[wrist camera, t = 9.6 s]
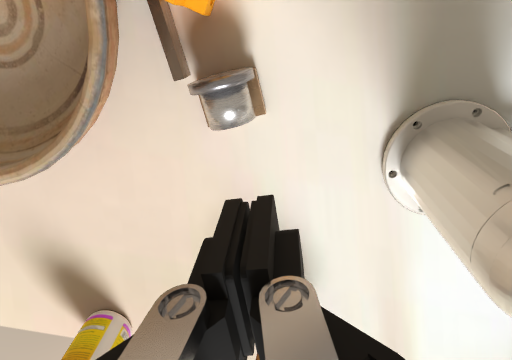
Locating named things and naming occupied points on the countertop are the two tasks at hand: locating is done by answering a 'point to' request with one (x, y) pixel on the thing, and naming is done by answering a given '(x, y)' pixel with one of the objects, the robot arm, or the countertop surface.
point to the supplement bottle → (98, 336)
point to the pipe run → (211, 79)
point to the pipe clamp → (196, 5)
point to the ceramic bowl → (52, 78)
